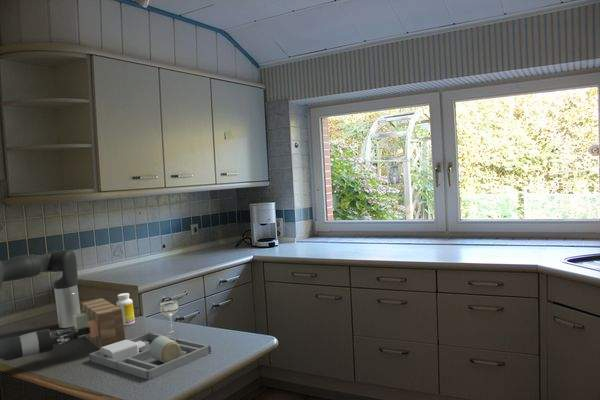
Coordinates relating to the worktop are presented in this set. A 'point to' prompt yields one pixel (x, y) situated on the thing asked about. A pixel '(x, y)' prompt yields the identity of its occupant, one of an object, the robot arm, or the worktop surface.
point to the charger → (122, 349)
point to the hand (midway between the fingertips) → (89, 329)
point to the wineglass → (169, 309)
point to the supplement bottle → (126, 308)
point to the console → (104, 322)
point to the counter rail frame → (149, 370)
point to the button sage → (80, 320)
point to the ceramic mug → (165, 349)
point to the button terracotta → (93, 328)
